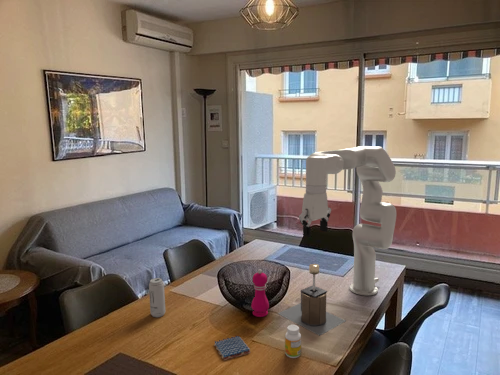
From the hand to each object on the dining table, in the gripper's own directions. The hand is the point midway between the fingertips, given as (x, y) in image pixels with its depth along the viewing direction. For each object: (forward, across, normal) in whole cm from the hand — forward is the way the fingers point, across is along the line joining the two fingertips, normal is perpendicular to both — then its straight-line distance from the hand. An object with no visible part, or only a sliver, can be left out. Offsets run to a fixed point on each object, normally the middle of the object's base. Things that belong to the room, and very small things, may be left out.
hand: (315, 233), depth 147 cm
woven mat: (+37, +36, -7) cm, 52 cm away
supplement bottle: (+36, +22, +9) cm, 43 cm away
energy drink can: (+36, +44, -47) cm, 74 cm away
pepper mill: (+36, +13, -18) cm, 42 cm away
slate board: (+36, 0, -2) cm, 36 cm away
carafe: (+35, +1, 0) cm, 35 cm away
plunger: (+33, +1, 0) cm, 33 cm away
